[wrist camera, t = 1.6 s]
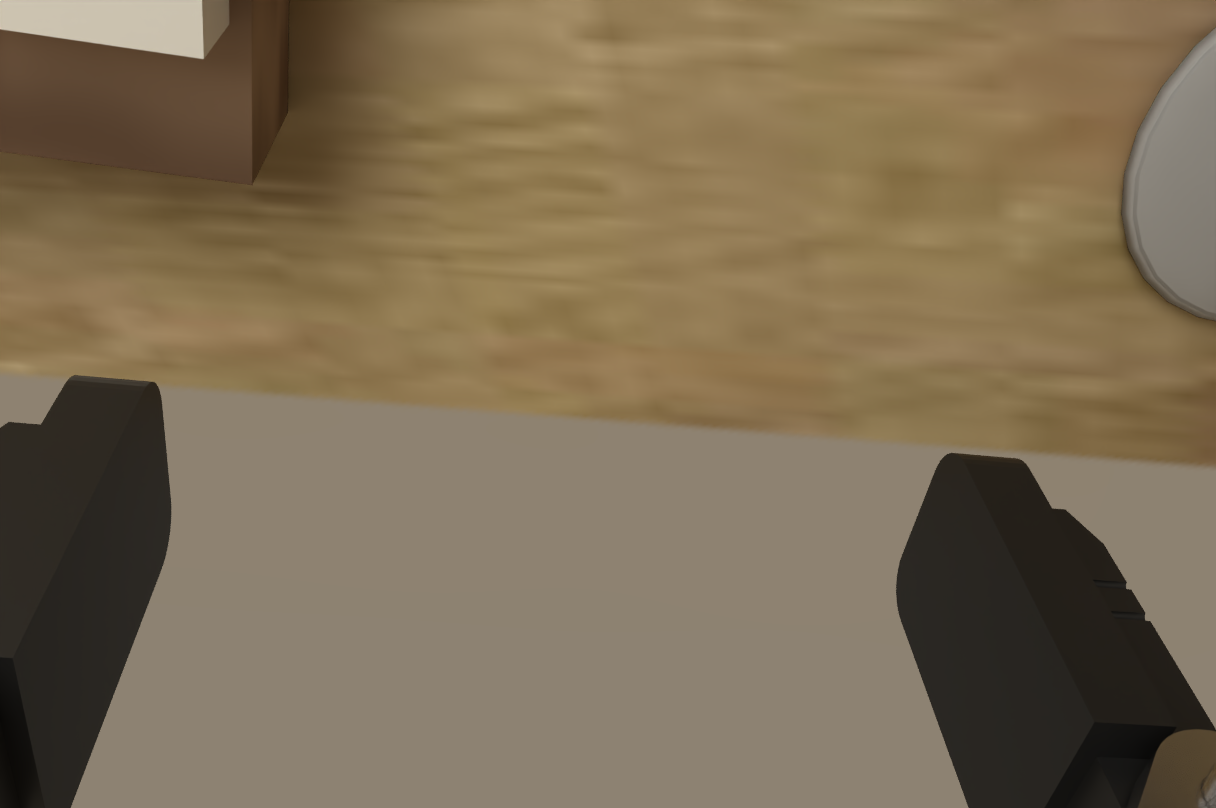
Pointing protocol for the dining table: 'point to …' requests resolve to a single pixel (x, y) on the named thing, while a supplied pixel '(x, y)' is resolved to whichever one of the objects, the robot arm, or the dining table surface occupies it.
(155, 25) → the tile
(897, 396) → the dining table surface
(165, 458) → the robot arm
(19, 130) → the wooden grain block
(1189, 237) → the chalice
